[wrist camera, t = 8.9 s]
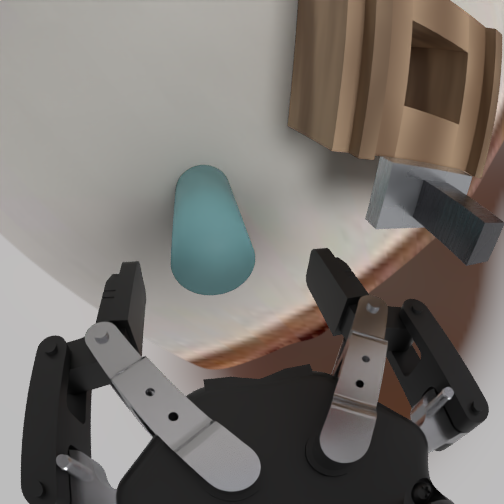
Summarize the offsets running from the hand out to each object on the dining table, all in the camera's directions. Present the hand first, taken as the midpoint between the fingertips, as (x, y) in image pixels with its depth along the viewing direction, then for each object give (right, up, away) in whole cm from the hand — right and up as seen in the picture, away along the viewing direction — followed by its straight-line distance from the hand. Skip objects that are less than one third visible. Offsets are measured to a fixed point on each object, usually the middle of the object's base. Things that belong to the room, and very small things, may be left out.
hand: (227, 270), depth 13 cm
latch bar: (+12, +5, +3) cm, 13 cm away
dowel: (-3, +5, +8) cm, 10 cm away
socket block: (+11, +15, +4) cm, 19 cm away
